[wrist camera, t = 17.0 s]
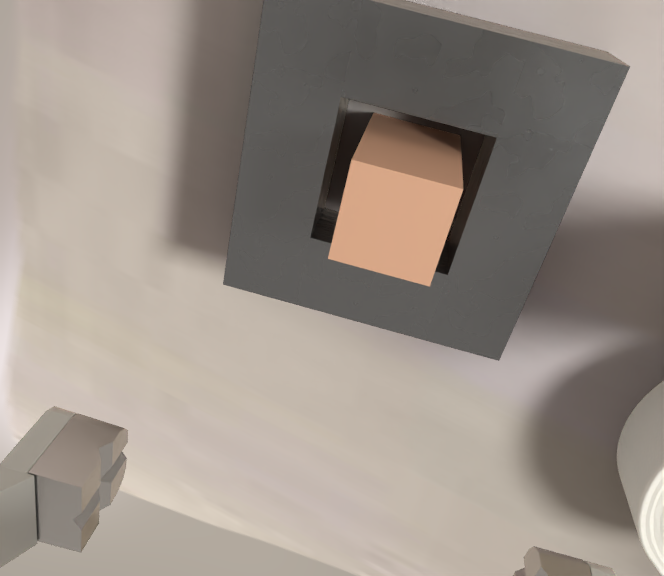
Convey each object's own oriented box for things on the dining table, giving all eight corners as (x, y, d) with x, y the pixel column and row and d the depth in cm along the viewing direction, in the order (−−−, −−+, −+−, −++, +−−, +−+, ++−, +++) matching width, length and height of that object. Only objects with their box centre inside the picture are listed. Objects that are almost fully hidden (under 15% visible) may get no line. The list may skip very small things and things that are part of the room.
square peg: (373, 112, 31) (351, 159, 24) (460, 135, 31) (463, 189, 24) (353, 194, 33) (327, 258, 26) (433, 216, 33) (429, 286, 26)
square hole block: (289, -29, 28) (267, -26, 25) (607, 51, 28) (630, 66, 24) (244, 252, 36) (223, 284, 33) (494, 320, 35) (498, 360, 32)
